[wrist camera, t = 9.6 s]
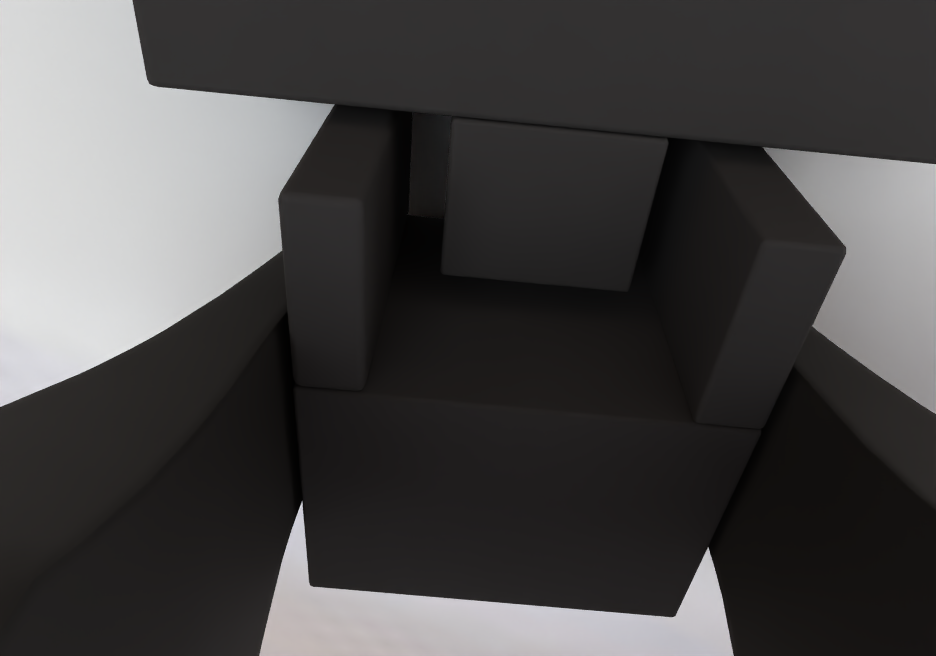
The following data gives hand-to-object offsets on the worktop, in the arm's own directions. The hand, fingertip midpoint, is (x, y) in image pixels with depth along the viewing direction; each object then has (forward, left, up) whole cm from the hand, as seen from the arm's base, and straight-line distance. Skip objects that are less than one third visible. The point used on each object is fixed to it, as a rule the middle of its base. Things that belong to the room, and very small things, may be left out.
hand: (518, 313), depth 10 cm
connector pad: (0, 0, -1) cm, 1 cm away
